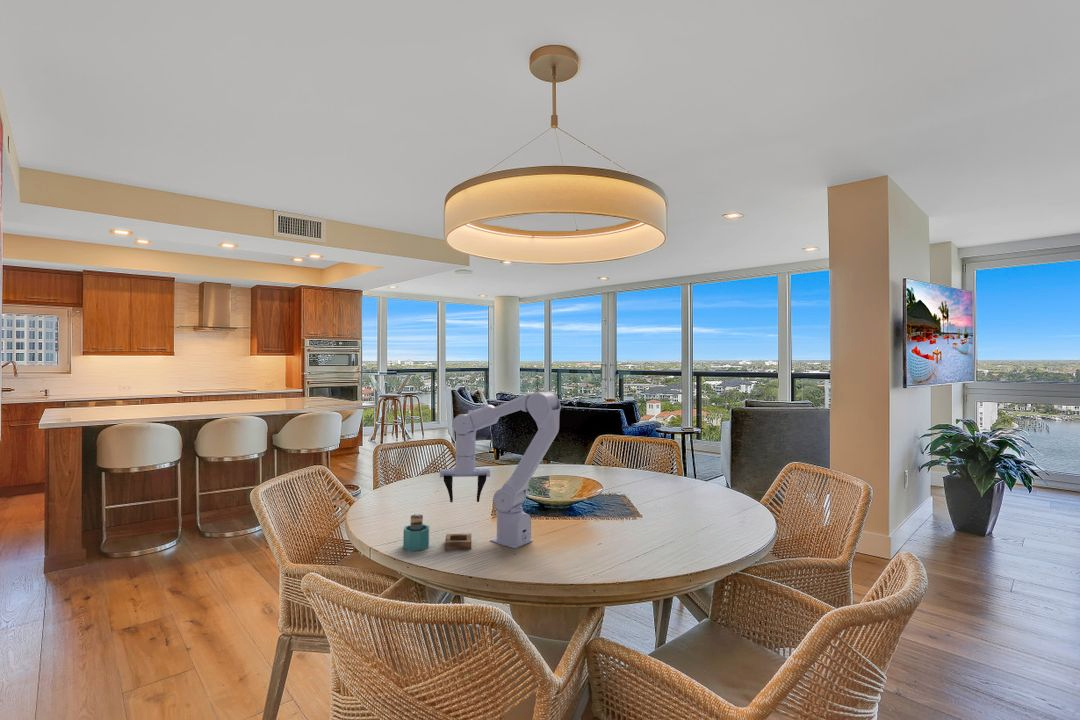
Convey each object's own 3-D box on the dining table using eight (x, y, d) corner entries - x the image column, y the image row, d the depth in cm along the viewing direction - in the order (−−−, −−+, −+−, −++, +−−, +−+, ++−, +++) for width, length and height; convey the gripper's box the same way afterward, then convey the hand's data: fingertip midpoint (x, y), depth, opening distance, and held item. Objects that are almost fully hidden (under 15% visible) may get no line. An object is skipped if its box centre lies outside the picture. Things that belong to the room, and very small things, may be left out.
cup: (433, 545, 146) (434, 527, 146) (414, 552, 141) (414, 533, 141) (418, 540, 150) (418, 522, 150) (398, 546, 145) (399, 528, 145)
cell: (424, 543, 146) (425, 514, 146) (415, 546, 143) (415, 517, 143) (417, 541, 148) (417, 512, 148) (407, 544, 145) (408, 514, 145)
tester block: (471, 540, 151) (471, 532, 151) (471, 549, 144) (471, 541, 144) (446, 541, 150) (446, 533, 150) (444, 549, 143) (445, 541, 143)
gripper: (489, 452, 162) (489, 497, 162) (441, 452, 160) (440, 498, 160) (490, 456, 155) (489, 503, 155) (439, 456, 153) (438, 504, 153)
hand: (464, 501), depth 157 cm, fingers open, 7 cm apart
